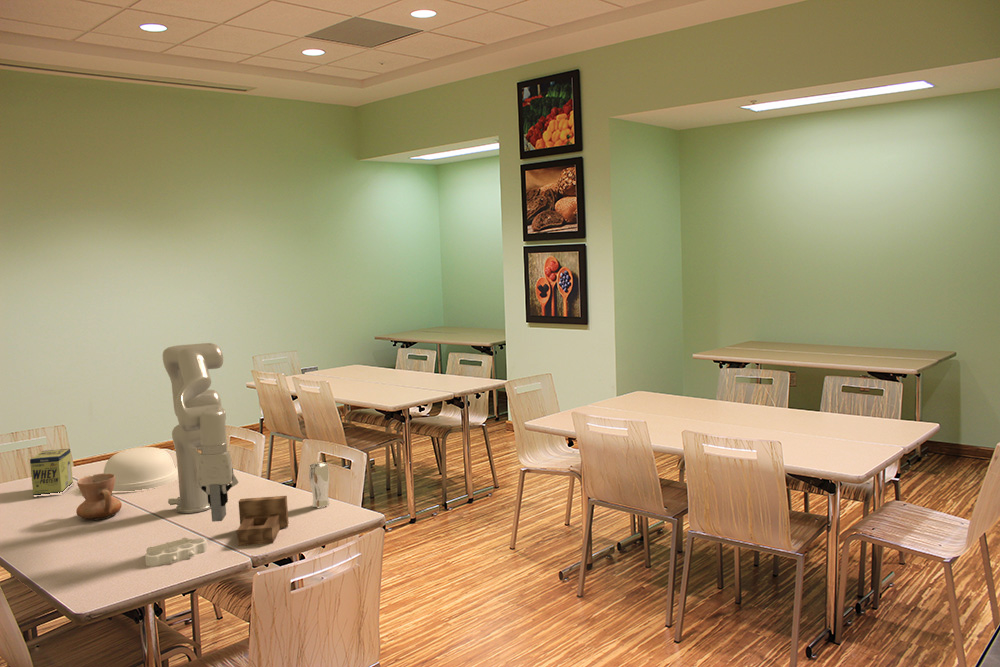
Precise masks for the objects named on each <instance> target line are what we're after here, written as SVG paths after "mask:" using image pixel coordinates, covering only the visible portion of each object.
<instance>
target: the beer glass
mask: <svg viewBox="0 0 1000 667" xmlns="http://www.w3.org/2000/svg"><path fill="white" fill-rule="evenodd" d="M308 466H309V467H308V468H309V470H308V474H309V475H308V477H309V478H308V479H309V485H310V489H311V493H312V504H311V505H312V506H313V507H325V506H327V505H329V504H330V500H329V489H330V488H329V487H330V469H329V464H328V462H315V463H311V464H309V465H308ZM330 505H331V504H330ZM330 505H329V506H330ZM313 507H312V508H313ZM325 508H326V507H325Z"/></svg>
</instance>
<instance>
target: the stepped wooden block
mask: <svg viewBox="0 0 1000 667" xmlns="http://www.w3.org/2000/svg"><path fill="white" fill-rule="evenodd" d="M287 496H288V495H279V496H277V495H276V496H262V497H250V498H249V497H248V498H240V499H239V500H238V511H239V512H238V514H239V526H238V528H237V530H236V533H237V536H236V538H237V547H241V546H243V547H244V546H255V545H268V544H274V542H275V540H276V538H277V536H278V534H279V532H280V530H281V529H285V528H284V527H287V528H288V527H289V525H290V524H289V510H288V509H289V508H288V507H289V506H288V497H287ZM288 524H289V525H288Z"/></svg>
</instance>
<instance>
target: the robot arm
mask: <svg viewBox="0 0 1000 667" xmlns="http://www.w3.org/2000/svg"><path fill="white" fill-rule="evenodd" d="M222 351H223V350H221V347H220V346H218V345H217V344H215V343H212V342H202V343H191V344H180V345H173V346H168V347H167V348H165V349H164V350H163V352H162V361H163V366H164V368H165V371H166V373H167V375H168V377H169V379H170V382H171V391H172V402H173V409H174V414H175V416H176V417H177V421H178V424H177V425H176V426H175V427H173V429H172V431H171V435H172V442H173V446H174V451H175V456H176V466H177V468H178V480H177V481H178V490H179V492H178V493H179V497H177V498H174V497H173V498H172V497H171V498H168V500H167V502H168V505H170V506H175V505H176V508H175V511H176V512H177V513H180V514H193V513H194V514H195V513H200V512H204V511H208V510H211V500H210V486H209V485H211V484H219V485H221V486H222V494H221V498H222V506H225V504H227V503H228V498H229V497H228V496H229V495H228V492H229V491H230V490H231V488H233V487H235V486H236V485H238V483H239V480H238V479H237V477H236V475H235V474H234V466H233V462H232V457H231V453H230V451H229V450H228V445H227V444H228V443H227V441H228V440H227V428H226V420H227V414H226V411H225V409H224V408H223V406H222V401H221V397H220V394H219V392H218V391H216V390H215V389H210V387H211V385H212V379H211V374H210V372H209V370H216V369H220V368H222V366H223V363H224V354H223V352H222Z"/></svg>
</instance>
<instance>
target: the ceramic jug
mask: <svg viewBox="0 0 1000 667" xmlns="http://www.w3.org/2000/svg"><path fill="white" fill-rule="evenodd" d="M76 484H77V486H78V489H79V491H80V494H82V496H83V498H84V499H85V500H84V501H83V502H81V503H80V504H79V505H78V506H77V508H76V515H77V516H78V517H79V518H80V519H83V520H90V521H92V520H95V519H97V520H103V519H107V518H109V517H112V516H115V515H116V514H117V513H119V511H121V509H122V507H123V506H122V505H123V504H122V501H121V500H120V499H119V498H118V497H117V498H116V497H114V496H112V494H113V493H112V491H113V488H114V484H115V475H114V474H110V473H95V474H93V475H87V476H83V477H80V478H79V479H78V480H77V481H76Z"/></svg>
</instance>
